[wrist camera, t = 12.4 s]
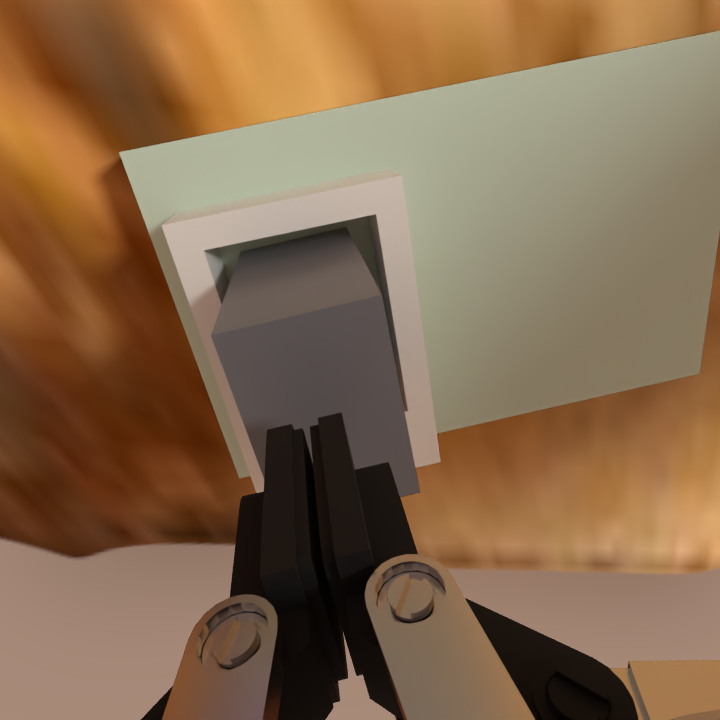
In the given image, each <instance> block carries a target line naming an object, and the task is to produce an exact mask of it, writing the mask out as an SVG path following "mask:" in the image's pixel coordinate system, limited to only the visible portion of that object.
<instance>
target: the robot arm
mask: <svg viewBox="0 0 720 720" xmlns="http://www.w3.org/2000/svg"><path fill="white" fill-rule="evenodd" d="M310 436H311V447H312V458H313V462H312V459H311V455H310V452H309V448H308V444H307V441H306V437H305V434H304V431H303V428H300V429H296V430H294V428H293V425H292V424H289V425H284V426H280V427H276V428H272V429H268V430H267V434H266V455H265V475H264V491H263V492H259V493H255V494H251V495H246V496H243V497H242V498H241V502H240V509H239V518H238V527H237V536H236V546H235V556H234V564H233V573H232V582H231V591H230V598H228V599H226V600H224V601H222V602H220V603H218V604H216V605H215V606H214V607H213V608H212V609H210V610H209V611H208V612H206V613H205V614H204V615H203V617H202V618H201V619H200V620H199V622H198V623H197V624H196V625H195V627H194V629H193V631H192V633H191V635H190V637H189V639H188V642H187V645H186V648H185V651H184V654H183V657H182V660H181V663H180V666H179V670H178V672H177V675H176V678H175V681H174V685H173V686H172V687H171V688H170V690H169V691H168V692H167V693H166V694H165V695H164V696H163V697H162V698H161V699H160V700H159V701H158V702H157V703H156V704H155V705H154V706H153V707H152V709H151V710H150V711H149V712H148V713H147V714H146V715H145V716H144V717H143V718H142V719H141V720H325V719H326V718H327V717H328V715H329V713H330V712H331V711H332V709H333V703H335V702H338V701H340V696H339V688H338V687H339V686H338V681H339V680H343V679H347V678H348V670H347V663H346V653H345V645H344V637H343V633H344V636H345V639H346V642H347V646H348V649H349V652H350V656H351V659H352V662H353V666H354V669H355V672H356V675H357V676H359V675H363V676H364V680H365V683H366V687H367V690H368V693H369V696H370V699H372V700H373V701H375V702H376V703H377V704H379V705H380V706H382V707H383V708H385V709H386V710H388V711H389V712H391V713H392V714H393V715H395V718H396V720H720V660H682V661H681V660H679V661H678V660H677V661H628V668H608V667H607V666H605V665H604V664H602V663H600V662H599V661H597V660H596V659H594V658H592V657H590V656H588V655H586V654H584V653H581V652H579V651H577V650H575V649H573V648H571V647H569V646H567V645H564V644H562V643H560V642H558V641H556V640H554V639H552V638H549V637H547V636H545V635H543V634H541V633H539V632H537V631H534V630H532V629H530V628H528V627H526V626H524V625H522V624H520V623H517V622H515V621H513V620H511V619H509V618H507V617H505V616H502V615H500V614H498V613H496V612H494V611H492V610H490V609H487V608H485V607H483V606H481V605H479V604H477V603H474V602H473V601H470V600H468V599H466V598H464V596H463V594H462V593H461V591H460V589H459V587H458V586H457V584H456V582H455V580H454V579H453V577H452V575H451V574H450V572H449V571H448V570H447V569H446V568H445V566H444V565H443V564H441V563H440V562H438V561H436V560H435V559H433V558H431V557H427V556H424V555H420V554H418V553H417V550H416V547H415V543H414V540H413V537H412V534H411V531H410V528H409V524H408V521H407V518H406V515H405V512H404V508H403V505H402V502H401V499H400V496H399V493H398V489H397V486H396V483H395V480H394V477H393V473H392V470H391V467H390V464H389V462H386V463H381V464H377V465H373V466H369V467H365V468H360V469H356V470H355V467H354V463H353V459H352V454H351V450H350V446H349V442H348V437H347V433H346V429H345V424H344V420H343V416H342V412H341V413H336V414H332V415H328V416H323V417H319V418H318V425H313V426H310Z"/></svg>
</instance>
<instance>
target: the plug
mask: <svg viewBox="0 0 720 720" xmlns="http://www.w3.org/2000/svg"><path fill="white" fill-rule="evenodd" d="M211 337H212V340H213V343H214V345H215V348H216V351H217V353H218V356H219V359H220V361H221V364H222V367H223V370H224V372H225V375H226V378H227V380H228V383H229V386H230V388H231V391H232V394H233V396H234V399H235V402H236V405H237V407H238V410H239V413H240V415H241V418H242V421H243V423H244V426H245V429H246V432H247V434H248V437H249V440H250V442H251V445H252V448H253V450H254V453H255V456H256V459H257V461H258V464H259V467H260V469H261V472H262V475H263V477H264V475H265V455H266V434H267V430H268V429H272V428H276V427H280V426H284V425H289V424H292V425H293V428H294V430H296V429H300V428H303V431H304V434H305V437H306V441H307V444H308V448H309V452H310V455H311V459H312V462H313V458H312V447H311V436H310V426H313V425H318V418H319V417H323V416H328V415H332V414H336V413H341V412H342V416H343V420H344V424H345V429H346V433H347V437H348V442H349V446H350V450H351V454H352V459H353V463H354V467H355V470H356V469H360V468H365V467H369V466H373V465H377V464H381V463H386V462H389V464H390V467H391V470H392V473H393V477H394V480H395V483H396V486H397V489H398V493H399V496H400V497H404V496H408V495H412V494H416V493H420V489H419V484H418V479H417V474H416V469H415V463H414V458H413V453H412V448H411V443H410V438H409V432H408V427H407V422H406V417H405V412H404V406H403V401H402V396H401V391H400V386H399V381H398V375H397V370H396V365H395V360H394V355H393V349H392V344H391V339H390V334H389V329H388V323H387V318H386V313H385V308H384V303H383V298H382V294H381V292H380V290H379V288H378V286H377V284H376V283H375V281H374V279H373V277H372V275H371V273H370V271H369V269H368V267H367V265H366V264H365V262H364V260H363V258H362V256H361V254H360V252H359V250H358V248H357V247H356V245H355V243H354V241H353V239H352V237H351V235H350V233H349V231H348V230H347V228H346V227H344V228H339V229H335V230H331V231H326V232H322V233H318V234H314V235H309V236H305V237H301V238H297V239H292V240H288V241H284V242H280V243H275V244H271V245H267V246H262V247H258V248H254V249H250V250H245V251H241V252H240V255H239V258H238V260H237V263H236V266H235V269H234V272H233V275H232V277H231V280H230V283H229V286H228V289H227V291H226V294H225V297H224V300H223V303H222V306H221V308H220V311H219V314H218V317H217V320H216V323H215V325H214V328H213V331H212V334H211Z"/></svg>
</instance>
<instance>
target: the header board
mask: <svg viewBox="0 0 720 720" xmlns="http://www.w3.org/2000/svg"><path fill="white" fill-rule="evenodd" d="M119 154H120V156H121V159H122V162H123V165H124V167H125V170H126V173H127V175H128V178H129V181H130V184H131V186H132V189H133V192H134V194H135V197H136V200H137V203H138V205H139V208H140V211H141V213H142V216H143V219H144V222H145V224H146V227H147V230H148V232H149V235H150V238H151V241H152V243H153V246H154V249H155V251H156V254H157V257H158V259H159V262H160V265H161V268H162V270H163V273H164V276H165V278H166V281H167V284H168V287H169V289H170V292H171V295H172V297H173V300H174V303H175V306H176V308H177V311H178V314H179V316H180V319H181V322H182V325H183V327H184V330H185V333H186V335H187V338H188V341H189V344H190V346H191V349H192V352H193V354H194V357H195V360H196V363H197V365H198V368H199V371H200V373H201V376H202V379H203V382H204V384H205V387H206V390H207V392H208V395H209V398H210V401H211V403H212V406H213V409H214V411H215V414H216V417H217V419H218V422H219V425H220V428H221V430H222V433H223V436H224V438H225V441H226V444H227V447H228V449H229V452H230V455H231V457H232V460H233V463H234V466H235V468H236V471H237V474H238V476H239V479H240V478H244V477H248V476H250V477H251V479H252V482H253V485H254V488H255V491H256V493H259V492H263V491H264V477H263V475H262V472H261V469H260V467H259V464H258V461H257V459H256V456H255V453H254V450H253V448H252V445H251V442H250V440H249V437H248V434H247V432H246V429H245V426H244V423H243V421H242V418H241V415H240V413H239V410H238V407H237V405H236V402H235V399H234V396H233V394H232V391H231V388H230V386H229V383H228V380H227V378H226V375H225V372H224V370H223V367H222V364H221V361H220V359H219V356H218V353H217V351H216V348H215V345H214V343H213V340H212V337H211V334H212V331H213V328H214V325H215V323H216V320H217V317H218V314H219V311H220V308H221V306H222V303H223V300H224V297H225V294H226V291H227V289H228V286H229V283H230V280H231V277H232V275H233V272H234V269H235V266H236V263H237V260H238V258H239V255H240V252H241V251H245V250H250V249H254V248H258V247H262V246H267V245H271V244H275V243H280V242H284V241H288V240H292V239H297V238H301V237H305V236H309V235H314V234H318V233H322V232H326V231H331V230H335V229H339V228H344V227H346V228H347V230H348V231H349V233H350V235H351V237H352V239H353V241H354V243H355V245H356V247H357V248H358V250H359V252H360V254H361V256H362V258H363V260H364V262H365V264H366V265H367V267H368V269H369V271H370V273H371V275H372V277H373V279H374V281H375V283H376V284H377V286H378V288H379V290H380V292H381V294H382V298H383V303H384V308H385V313H386V318H387V323H388V329H389V334H390V339H391V344H392V349H393V355H394V360H395V365H396V370H397V375H398V381H399V386H400V391H401V396H402V401H403V406H404V412H405V417H406V422H407V427H408V432H409V438H410V443H411V448H412V453H413V458H414V463H415V468H418V467H422V466H426V465H431V464H435V463H439V462H441V460H440V453H439V446H438V438H437V433H442V432H446V431H451V430H455V429H459V428H464V427H468V426H473V425H477V424H481V423H486V422H490V421H495V420H499V419H503V418H508V417H512V416H517V415H521V414H525V413H530V412H534V411H539V410H543V409H547V408H552V407H556V406H561V405H565V404H569V403H574V402H578V401H583V400H587V399H591V398H596V397H600V396H605V395H609V394H613V393H618V392H622V391H627V390H631V389H635V388H640V387H644V386H649V385H653V384H657V383H662V382H666V381H671V380H675V379H679V378H684V377H688V376H693V375H697V374H700V367H701V360H702V353H703V346H704V339H705V332H706V325H707V318H708V311H709V304H710V297H711V290H712V282H713V275H714V268H715V261H716V254H717V247H718V240H719V233H720V31H715V32H710V33H705V34H700V35H696V36H691V37H686V38H681V39H676V40H671V41H666V42H661V43H656V44H651V45H646V46H641V47H636V48H631V49H626V50H622V51H617V52H612V53H607V54H602V55H597V56H592V57H587V58H582V59H577V60H572V61H567V62H562V63H557V64H552V65H547V66H543V67H538V68H533V69H528V70H523V71H518V72H513V73H508V74H503V75H498V76H493V77H488V78H483V79H478V80H473V81H468V82H464V83H459V84H454V85H449V86H444V87H439V88H434V89H429V90H424V91H419V92H414V93H409V94H404V95H399V96H394V97H389V98H385V99H380V100H375V101H370V102H365V103H360V104H355V105H350V106H345V107H340V108H335V109H330V110H325V111H320V112H315V113H311V114H306V115H301V116H296V117H291V118H286V119H281V120H276V121H271V122H266V123H261V124H256V125H251V126H246V127H241V128H236V129H232V130H227V131H222V132H217V133H212V134H207V135H202V136H197V137H192V138H187V139H182V140H177V141H172V142H167V143H162V144H157V145H153V146H148V147H143V148H138V149H133V150H128V151H123V152H119Z"/></svg>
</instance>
